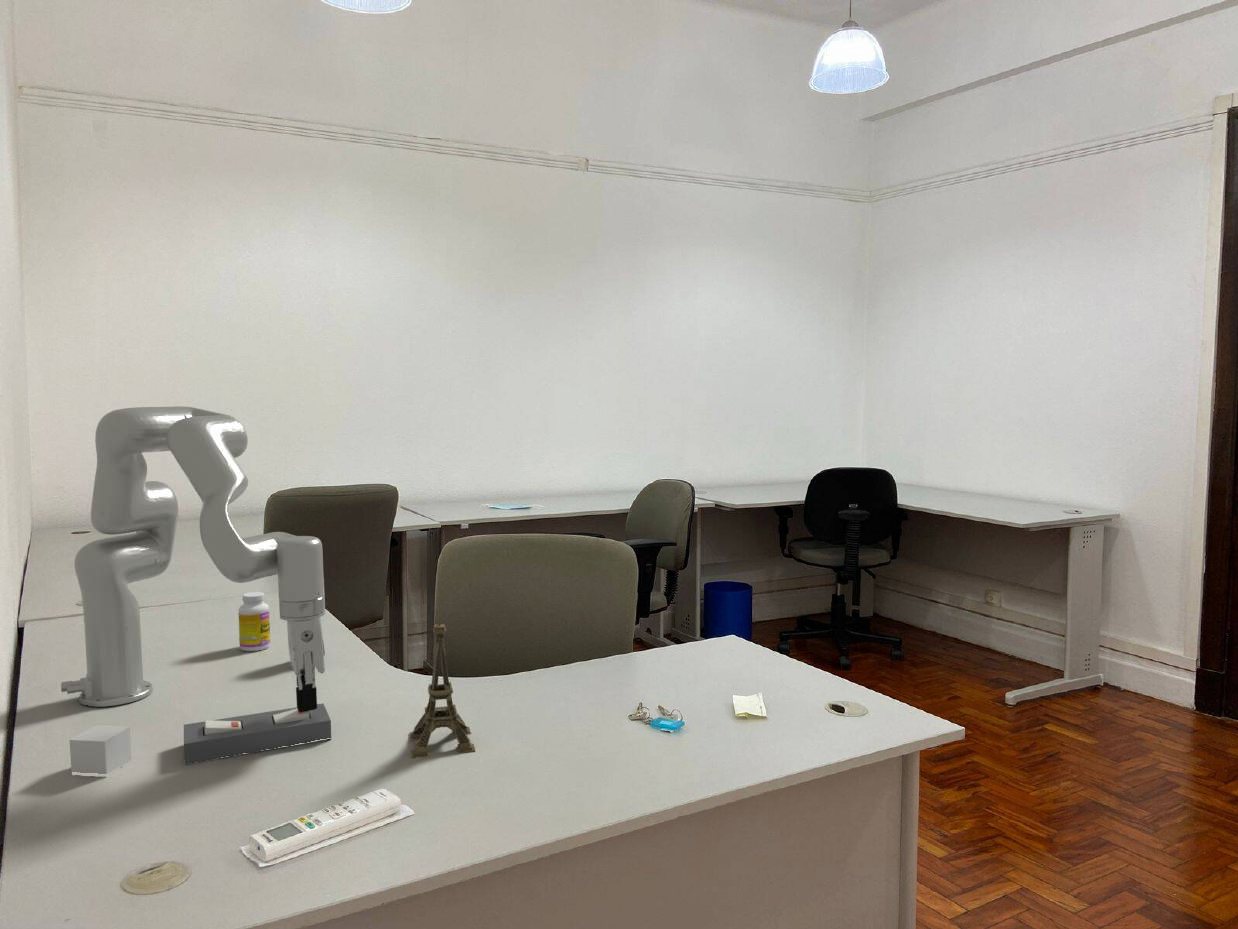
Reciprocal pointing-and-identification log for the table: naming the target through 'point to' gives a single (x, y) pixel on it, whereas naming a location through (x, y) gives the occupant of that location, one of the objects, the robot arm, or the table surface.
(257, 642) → the supplement bottle
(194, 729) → the rocker switch panel
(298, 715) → the right rocker
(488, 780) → the table surface
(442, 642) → the eiffel tower
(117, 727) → the pale grey cube
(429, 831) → the table surface
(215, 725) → the left rocker
